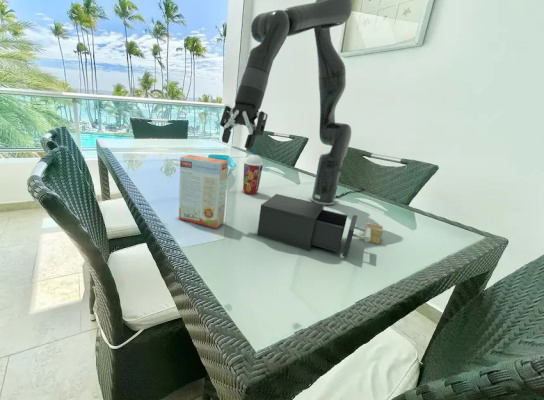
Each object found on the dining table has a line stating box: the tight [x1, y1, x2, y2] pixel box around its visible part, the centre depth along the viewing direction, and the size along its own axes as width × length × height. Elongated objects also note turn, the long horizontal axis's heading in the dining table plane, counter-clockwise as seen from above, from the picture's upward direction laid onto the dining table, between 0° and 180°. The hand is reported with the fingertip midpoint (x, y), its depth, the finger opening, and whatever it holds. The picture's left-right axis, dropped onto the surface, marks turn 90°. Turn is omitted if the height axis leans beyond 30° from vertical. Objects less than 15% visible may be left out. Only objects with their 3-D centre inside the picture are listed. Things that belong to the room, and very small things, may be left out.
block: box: [362, 221, 384, 245], centre depth 86 cm, size 4×4×4 cm
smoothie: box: [242, 147, 264, 195], centre depth 120 cm, size 8×8×20 cm
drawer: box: [311, 209, 371, 258], centre depth 79 cm, size 19×13×8 cm
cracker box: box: [178, 154, 229, 229], centre depth 86 cm, size 14×6×21 cm, turn 65°
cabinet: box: [256, 193, 325, 251], centre depth 84 cm, size 16×14×10 cm
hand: (235, 145), depth 79 cm, fingers open, 8 cm apart
